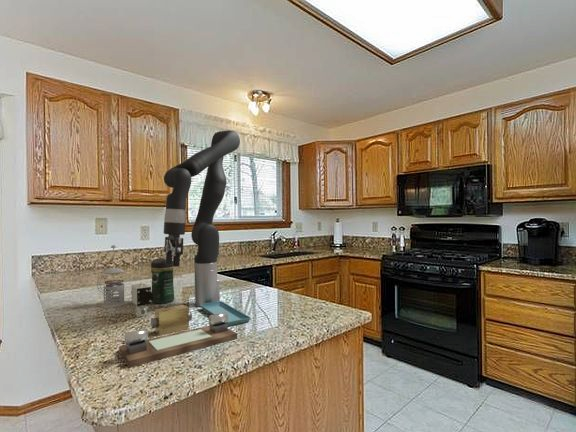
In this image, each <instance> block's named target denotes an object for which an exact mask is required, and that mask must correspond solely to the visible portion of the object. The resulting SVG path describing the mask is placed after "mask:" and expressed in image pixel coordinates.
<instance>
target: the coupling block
mask: <svg viewBox="0 0 576 432" xmlns="http://www.w3.org/2000/svg"><path fill="white" fill-rule="evenodd" d="M192 318H193V316H192V312H191V311H189V307H188V306H186V305H184V304H180V305H174V306H168V307H162V308H158V309H157V308H156V309H154V317H153V318H150V326H151V329H154V332H155V333H156V334H157V335H158V337H161V336H165V335H167V334H168V335H170V334H174V333H179V332H183V331H188V330H189V322H191V321H192Z"/></svg>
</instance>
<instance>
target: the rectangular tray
mask: <svg viewBox="0 0 576 432" xmlns="http://www.w3.org/2000/svg"><path fill="white" fill-rule="evenodd" d="M199 307H201V310H202V311H203V312H205V313H207V314H208V315H209V316H210V315H214V314H219V313H224V312H226V313H227V314H228V322H225V323H227V324H228V327H231V326H235V325H241V324H245V323H249V321H250V320H251V318H252V317H251V316H250V315H247V314H246V313H243V312H241V310H238V309H237V308H234V307H233V306H231V305H229V304H228V303H225V302H224V301H222V300H220V301H218V302H212V303H206V304H200V306H199Z"/></svg>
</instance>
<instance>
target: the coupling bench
mask: <svg viewBox="0 0 576 432" xmlns="http://www.w3.org/2000/svg"><path fill="white" fill-rule="evenodd" d="M225 322H228V314H227V313H226V312H224V313H219V314H214V315H209V316H208V323H209V325H207V326H202V327H197V328H192V329H187V330H183V331H178V332H174V333H169V334H168V335H167V334H165V335H160V336H158V337H154V338H153V337H152V338H149V332H148V328H142V329H137V330H133V331H132V330H131V331H127V332H125V333H124V343H125V344H123V345H119V346H118V352H119V353H120V355H121V357H122V359H123V360H124V362H125V363H126V364H127V366H128V368H132V367H135V366H140V365H143V364H146V363H150V362H155V361H159V360H161V359H165V358H169V357H173V356H177V355H180V354H184V353H188V352H192V351H195V350H200V349H203V348H207V347H211V346H215V345H219V344H222V343H227V342H230V341H234V340H237V339H238V333H237V332H236V331H234V330H231V329H230V328H228V327H229V326H228V324H227V323H225Z"/></svg>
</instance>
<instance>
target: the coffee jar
mask: <svg viewBox="0 0 576 432" xmlns="http://www.w3.org/2000/svg"><path fill="white" fill-rule="evenodd" d="M174 269H175V267H174V266H173V260H172V264H166V258H156V259H153V260H152V261H151V264H150V271H151V292H153V301H151V303H156V304H169V303H172V302H173V301H175V290H174V289H175V288H174Z"/></svg>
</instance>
